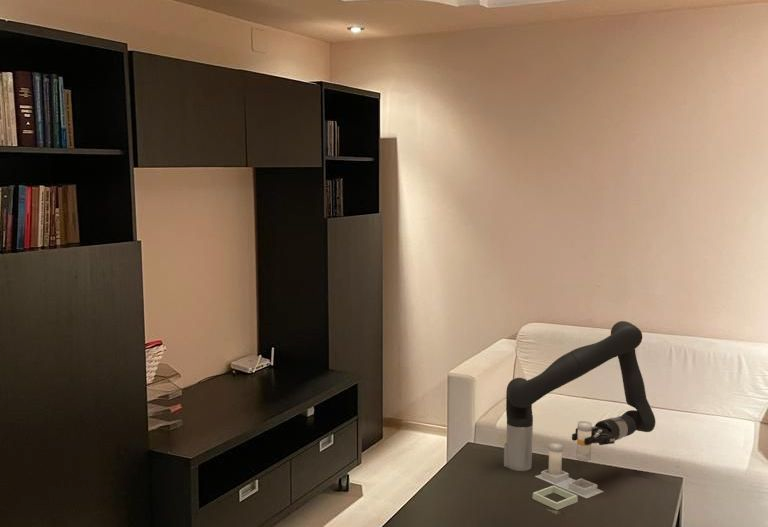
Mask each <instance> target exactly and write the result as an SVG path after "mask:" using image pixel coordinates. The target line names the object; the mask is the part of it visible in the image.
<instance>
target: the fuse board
mask: <svg viewBox="0 0 768 527" xmlns="http://www.w3.org/2000/svg"><path fill="white" fill-rule="evenodd" d="M561 472H562V475H559V476H557V477H555V476H553V475H550V474H548V469H544V470H542V471H540V474H538V475H535V476H534V477H535V478H538V479H540V480H542V481H545V482H547V483H549V484H552V485H554V486H556V487H558V488H561V489H563V490H565V491H568V492H570V493H572V494H575V495H577V496H579V497H582V498H585V499H588V498H591V497H594V496H596V495H599V494H601V493H604V490H601V489H599V488H598V484H596V483H594V482H592V481H590V480H589V481H588V480H586V479H584V478H578V479H574V478H571V477H570V474H569V473H568V472H566V471H564V470H561Z"/></svg>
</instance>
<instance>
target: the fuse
mask: <svg viewBox="0 0 768 527" xmlns="http://www.w3.org/2000/svg"><path fill="white" fill-rule="evenodd" d="M563 446H564V444H563V443H561V442H556V441H553V442H548V474H550V475H553V476H555V477H557V476H559V475H562V472H561V470H562V469H563V468H562V465H563V462H562V461H563ZM562 471H563V470H562Z"/></svg>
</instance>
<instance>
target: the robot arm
mask: <svg viewBox="0 0 768 527" xmlns="http://www.w3.org/2000/svg"><path fill="white" fill-rule="evenodd" d="M642 340H643V333H642V330H641V329H640V328H638V326H636V325H634V324H633V323H631V322H629V321H624V320H622V321H621V320H619V321H618V322H616V323H615V324H614V325H613V326H612V327H611V330H610V335H609V336H607V337H605V338H603V339H602V340H599V341H598V342H594V343H590V344H587V345H584V346H580V347H578V348H574V349H573V350H570V351H569V352H566V353H565V354H563V355H562V356H560V357H558V358H557V359H556V360H554V361H553V362H552V363H551V364H550V365H549V366H547V368H545V370H543V371H542V372H541V373H540V374H538V375H536V376H534V377H532V378H530V379H528V380H527V379H526V378H523V377H515V378H513V379H511V380H510V381H509V382H508V384H507V386H506V394H505V396H506V397H505V398H506V404H505V407H506V408H505V412H506V434H505V435H506V438H505V439H506V440H505V443H504V446H503V447H504V448H503V467H505V468H508V469H509V470H512V471H517V472H526V471H529V470H531V469H532V468H533V464H532V463H533V462H532V461H533V460H532V459H533V426H534V416H533V404H534V403H536V402H537V401H539V400H540V399H542V398H544V397H545V396H546V395H548V394H549V393H552V392H553V391H555V390H557V389H559V388H561V387H563V386H565V385H567V384H569V383H570V382H573V381H575V380H577V379H579V378H580V377H583V376H584V375H586V374H588V373H589V372H591V371H593V370H594V369H596V368H598V367H600V366H601V365H604V364H605V363H606V362H608V361H610V360H612V359H614V358H617V359H618V362H619V367H620V373H621V379H622V385H623V391H624V395H625V396H624V397H625V402H626V404H627V405H628V406H630V407H632V408H634V410H633V409H631V410H628V411H625V412H624V413H622V414H621V415H620V416H617V417H616V416H615V417H609V418H607V419H606V418H605V419H603V420H600V421H597V423H595V424H594V426H592V431H591V437H587V438H585V440H584V444H585V445H589V444H591V445H592V444H593V445H597V444H598V445H599V446H604V445H613V444H615V442H616V441H618V440H621V439H623V438H625V437H628V436H631V435H632V434H634V433H635V432H636V431H637V432H644V433H650V432H652V431H653V430H654V429H655V427H656V417H655V414H654V412H653V409H652V408H651V405H650V403H649V401H648V398H647V393H646V387H645V382H644V378H643V375H642V372H641V369H640V366H639V363H638V360H637V354H636V348H638V347H639V346H640V345H641V343H642ZM635 409H636V410H635ZM577 435H578V429H577V427H576V428H575V432H574V433H572V434H571V440H572V441H574V442H575V441H577Z"/></svg>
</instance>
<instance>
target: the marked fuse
mask: <svg viewBox="0 0 768 527" xmlns="http://www.w3.org/2000/svg"><path fill="white" fill-rule="evenodd" d="M576 426H577V427H576V428H577V429H578V435H577V440H576V443H577V444H576V460H578V461H583V462H588V461H589V462H590V461H591V460H592V453H591V451H592V448H591V446H592V444H589V445H585V444H584V440H585V438H587V437H591V431H592V427H593V423H592V422H590V421H586V420H580V421H577V425H576Z"/></svg>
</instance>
